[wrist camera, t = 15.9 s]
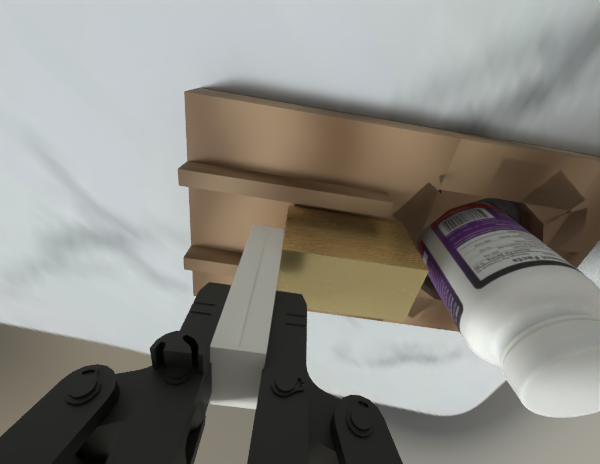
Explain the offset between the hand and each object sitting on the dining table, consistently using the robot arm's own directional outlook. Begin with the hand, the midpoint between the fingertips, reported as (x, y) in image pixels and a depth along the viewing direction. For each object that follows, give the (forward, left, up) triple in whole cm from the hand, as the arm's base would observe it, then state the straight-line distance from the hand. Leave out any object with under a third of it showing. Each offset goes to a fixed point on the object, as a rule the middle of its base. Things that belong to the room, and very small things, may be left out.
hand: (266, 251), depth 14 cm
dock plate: (+7, 0, -4) cm, 8 cm away
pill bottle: (+12, 0, -5) cm, 12 cm away
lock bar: (+4, 0, -2) cm, 4 cm away
